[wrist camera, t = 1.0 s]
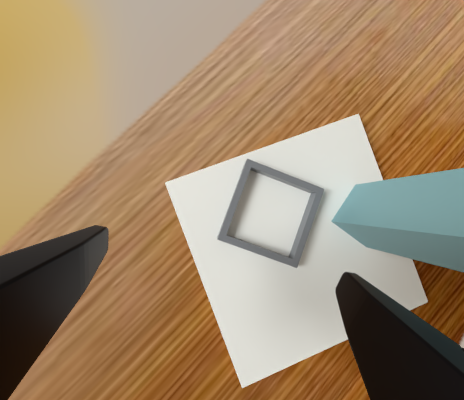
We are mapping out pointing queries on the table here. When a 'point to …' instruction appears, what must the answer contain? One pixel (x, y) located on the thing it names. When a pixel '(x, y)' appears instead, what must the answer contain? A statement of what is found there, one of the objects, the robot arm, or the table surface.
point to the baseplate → (285, 248)
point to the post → (410, 217)
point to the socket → (304, 225)
